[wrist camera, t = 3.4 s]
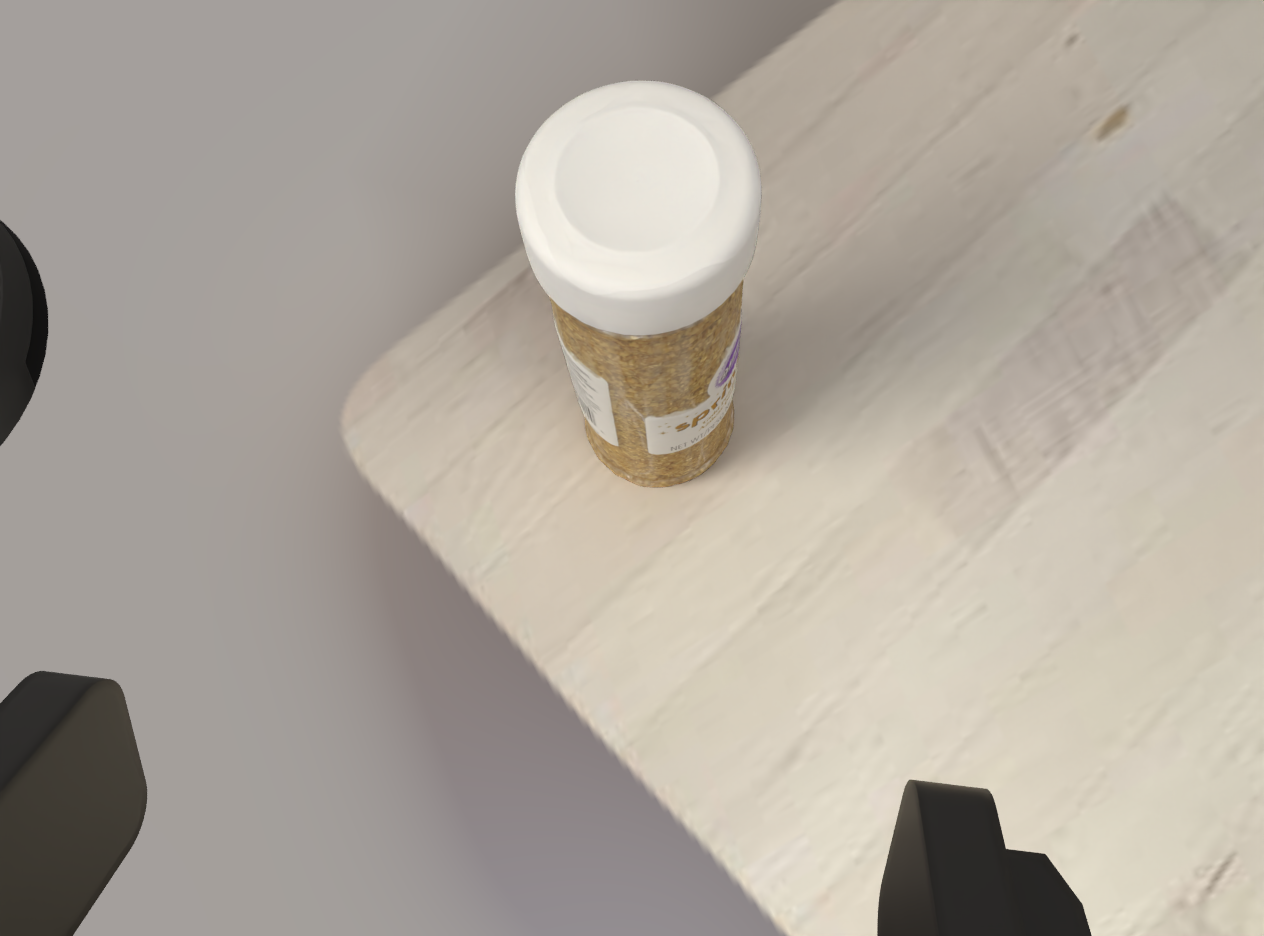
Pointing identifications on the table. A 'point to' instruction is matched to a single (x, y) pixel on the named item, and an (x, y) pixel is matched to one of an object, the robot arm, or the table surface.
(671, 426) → the spice jar
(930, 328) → the table surface
